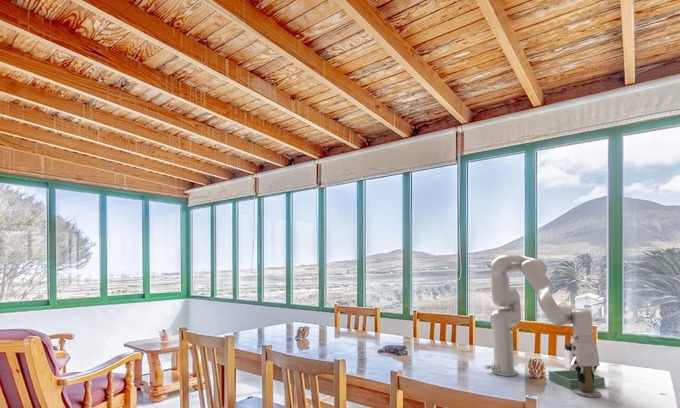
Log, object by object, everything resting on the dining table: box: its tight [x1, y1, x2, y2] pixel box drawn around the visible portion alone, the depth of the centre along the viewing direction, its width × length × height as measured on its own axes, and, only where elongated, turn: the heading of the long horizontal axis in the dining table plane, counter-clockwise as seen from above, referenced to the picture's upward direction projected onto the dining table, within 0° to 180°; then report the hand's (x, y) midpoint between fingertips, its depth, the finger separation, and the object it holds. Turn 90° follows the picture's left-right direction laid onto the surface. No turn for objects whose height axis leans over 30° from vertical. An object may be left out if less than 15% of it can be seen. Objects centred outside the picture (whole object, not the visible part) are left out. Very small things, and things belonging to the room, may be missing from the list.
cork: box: [579, 366, 596, 392], centre depth 179 cm, size 6×6×11 cm
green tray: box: [548, 369, 606, 390], centre depth 192 cm, size 18×14×4 cm
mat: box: [573, 388, 602, 399], centre depth 178 cm, size 10×10×1 cm
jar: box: [563, 342, 577, 370], centre depth 218 cm, size 9×8×12 cm
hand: (586, 381), depth 179 cm, fingers closed on cork, 3 cm apart
